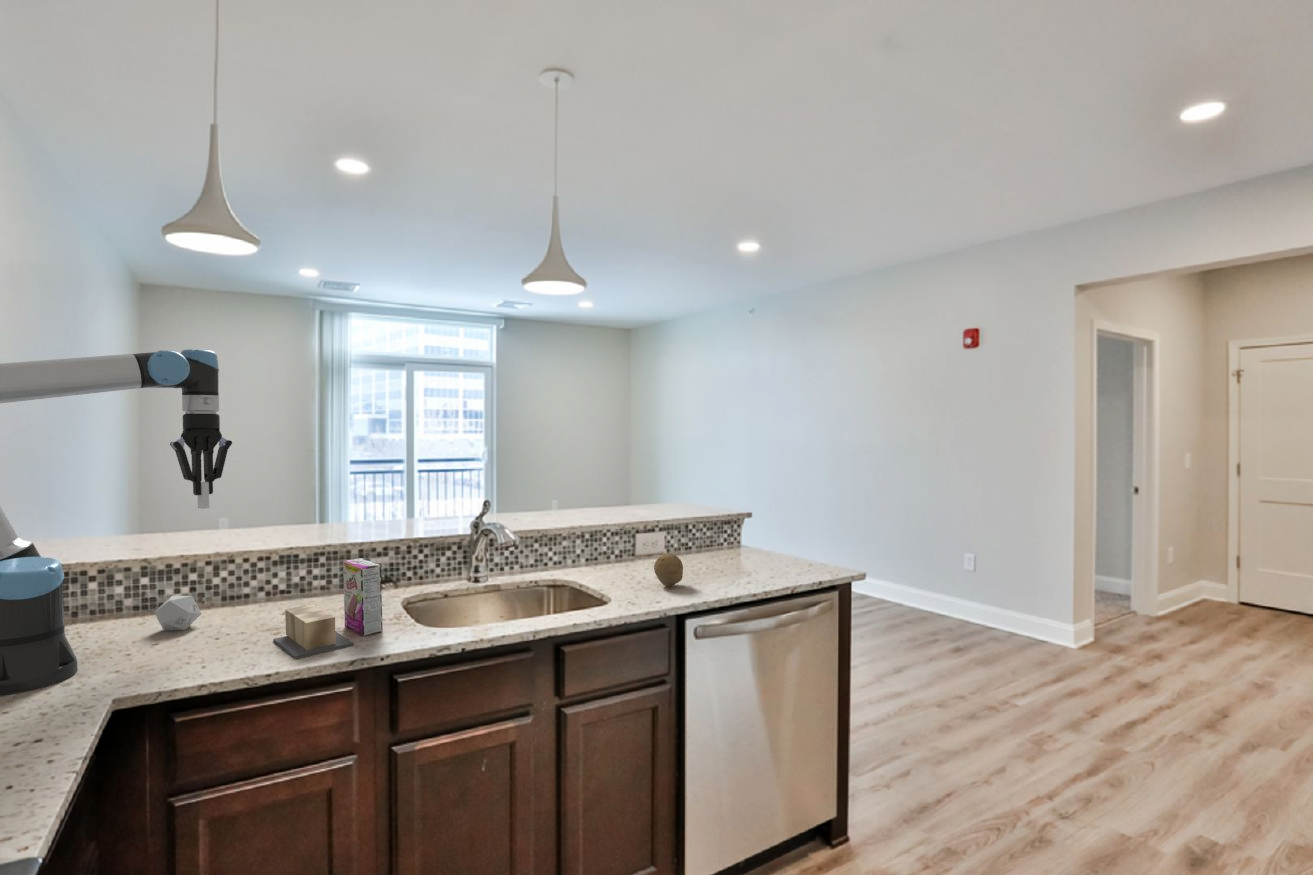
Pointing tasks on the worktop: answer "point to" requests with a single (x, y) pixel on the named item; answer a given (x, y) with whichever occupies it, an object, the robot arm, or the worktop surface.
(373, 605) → the candy bar box
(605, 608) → the worktop surface
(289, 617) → the wooden block
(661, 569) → the brown oval lump
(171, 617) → the die
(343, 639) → the mat
